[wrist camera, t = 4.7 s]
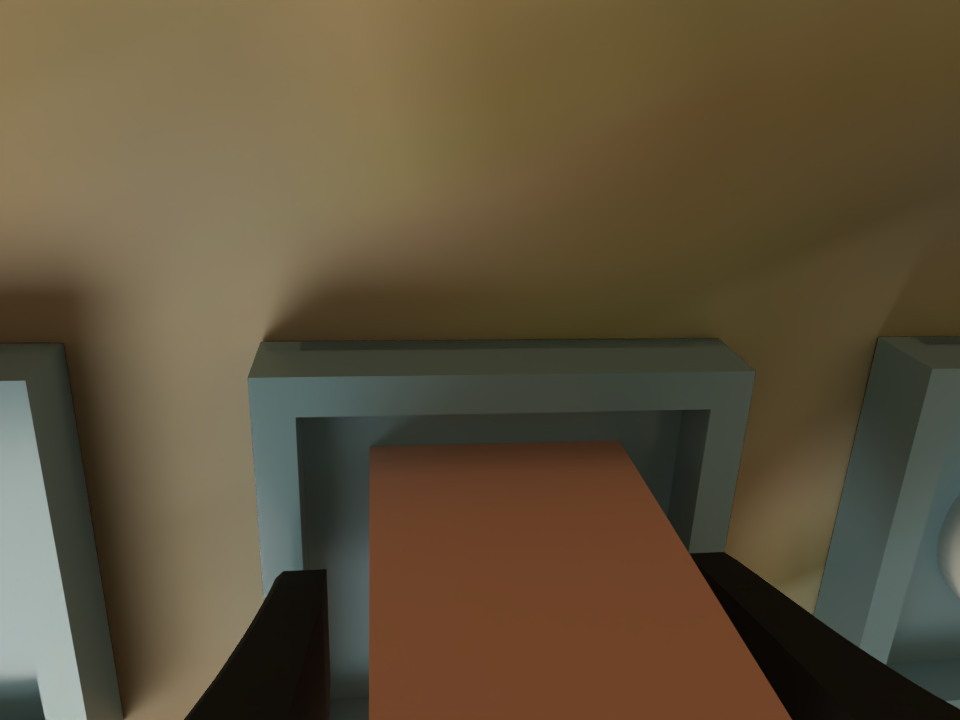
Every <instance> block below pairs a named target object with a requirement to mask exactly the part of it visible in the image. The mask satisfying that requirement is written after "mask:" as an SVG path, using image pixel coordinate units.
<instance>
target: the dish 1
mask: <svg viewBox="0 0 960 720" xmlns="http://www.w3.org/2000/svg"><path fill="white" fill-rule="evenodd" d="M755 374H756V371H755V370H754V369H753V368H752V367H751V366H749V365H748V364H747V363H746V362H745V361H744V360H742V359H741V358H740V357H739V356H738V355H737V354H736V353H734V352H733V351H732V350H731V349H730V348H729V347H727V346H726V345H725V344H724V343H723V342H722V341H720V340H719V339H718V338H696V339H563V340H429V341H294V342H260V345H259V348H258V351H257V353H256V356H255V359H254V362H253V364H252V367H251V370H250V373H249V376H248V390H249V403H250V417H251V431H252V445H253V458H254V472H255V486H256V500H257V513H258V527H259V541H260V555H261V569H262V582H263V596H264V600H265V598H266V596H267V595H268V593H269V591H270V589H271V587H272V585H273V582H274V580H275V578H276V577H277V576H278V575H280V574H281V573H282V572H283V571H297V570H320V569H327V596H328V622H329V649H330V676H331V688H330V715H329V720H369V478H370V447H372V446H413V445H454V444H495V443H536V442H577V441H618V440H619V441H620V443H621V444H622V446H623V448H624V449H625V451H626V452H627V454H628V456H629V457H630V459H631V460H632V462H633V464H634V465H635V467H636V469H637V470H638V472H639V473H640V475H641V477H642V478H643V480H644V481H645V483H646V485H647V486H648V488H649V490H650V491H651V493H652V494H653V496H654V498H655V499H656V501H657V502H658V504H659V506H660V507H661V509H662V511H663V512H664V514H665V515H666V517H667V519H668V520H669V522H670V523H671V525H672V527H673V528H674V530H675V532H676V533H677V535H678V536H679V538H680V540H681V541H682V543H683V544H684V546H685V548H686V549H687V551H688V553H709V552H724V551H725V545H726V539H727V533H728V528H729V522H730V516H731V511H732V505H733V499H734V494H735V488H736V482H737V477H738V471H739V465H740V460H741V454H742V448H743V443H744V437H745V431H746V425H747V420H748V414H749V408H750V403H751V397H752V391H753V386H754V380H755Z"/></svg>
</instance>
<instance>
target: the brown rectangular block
mask: <svg viewBox="0 0 960 720" xmlns="http://www.w3.org/2000/svg"><path fill="white" fill-rule="evenodd" d="M369 720H792V719H791V717H790V716H789V714H788V712H787V711H786V709H785V708H784V706H783V704H782V703H781V701H780V699H779V698H778V696H777V695H776V693H775V691H774V690H773V688H772V687H771V685H770V683H769V682H768V680H767V678H766V677H765V675H764V674H763V672H762V670H761V669H760V667H759V666H758V664H757V662H756V661H755V659H754V657H753V656H752V654H751V653H750V651H749V649H748V648H747V646H746V645H745V643H744V641H743V640H742V638H741V636H740V635H739V633H738V632H737V630H736V628H735V627H734V625H733V624H732V622H731V620H730V619H729V617H728V615H727V614H726V612H725V611H724V609H723V607H722V606H721V604H720V603H719V601H718V599H717V598H716V596H715V594H714V593H713V591H712V590H711V588H710V586H709V585H708V583H707V582H706V580H705V578H704V577H703V575H702V574H701V572H700V570H699V569H698V567H697V565H696V564H695V562H694V561H693V559H692V557H691V556H690V554H689V553H688V551H687V549H686V548H685V546H684V544H683V543H682V541H681V540H680V538H679V536H678V535H677V533H676V532H675V530H674V528H673V527H672V525H671V523H670V522H669V520H668V519H667V517H666V515H665V514H664V512H663V511H662V509H661V507H660V506H659V504H658V502H657V501H656V499H655V498H654V496H653V494H652V493H651V491H650V490H649V488H648V486H647V485H646V483H645V481H644V480H643V478H642V477H641V475H640V473H639V472H638V470H637V469H636V467H635V465H634V464H633V462H632V460H631V459H630V457H629V456H628V454H627V452H626V451H625V449H624V448H623V446H622V444H621V443H620V441H619V440H618V441H577V442H536V443H495V444H454V445H413V446H372V447H370V478H369Z"/></svg>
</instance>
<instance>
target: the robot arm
mask: <svg viewBox="0 0 960 720" xmlns="http://www.w3.org/2000/svg"><path fill="white" fill-rule="evenodd" d="M689 554H690V556H691V557H692V559H693V561H694V562H695V564H696V565H697V567H698V569H699V570H700V572H701V574H702V575H703V577H704V578H705V580H706V582H707V583H708V585H709V586H710V588H711V590H712V591H713V593H714V594H715V596H716V598H717V599H718V601H719V603H720V604H721V606H722V607H723V609H724V611H725V612H726V614H727V615H728V617H729V619H730V620H731V622H732V624H733V625H734V627H735V628H736V630H737V632H738V633H739V635H740V636H741V638H742V640H743V641H744V643H745V645H746V646H747V648H748V649H749V651H750V653H751V654H752V656H753V657H754V659H755V661H756V662H757V664H758V666H759V667H760V669H761V670H762V672H763V674H764V675H765V677H766V678H767V680H768V682H769V683H770V685H771V687H772V688H773V690H774V691H775V693H776V695H777V696H778V698H779V699H780V701H781V703H782V704H783V706H784V708H785V709H786V711H787V712H788V714H789V716H790V717H791V719H792V720H960V709H959V708H957V707H955V706H953V705H952V704H950V703H948V702H946V701H944V700H943V699H941V698H939V697H937V696H935V695H934V694H932V693H930V692H929V691H927V690H925V689H924V688H922V687H920V686H919V685H917V684H915V683H914V682H912V681H910V680H909V679H907V678H905V677H904V676H902V675H901V674H899V673H898V672H896V671H895V670H893V669H891V668H890V667H888V666H887V665H885V664H884V663H882V662H880V661H879V660H877V659H876V658H874V657H873V656H871V655H869V654H868V653H866V652H865V651H863V650H862V649H861V648H859V647H858V646H856V645H855V644H853V643H852V642H850V641H849V640H847V639H846V638H844V637H843V636H841V635H840V634H839V633H837V632H836V631H834V630H833V629H831V628H830V627H828V626H827V625H826V624H824V623H823V622H821V621H820V620H819V619H817V618H816V617H814V616H813V615H812V614H810V613H809V612H807V611H806V610H805V609H803V608H802V607H800V606H799V605H798V604H796V603H795V602H794V601H792V600H791V599H789V598H788V597H787V596H785V595H784V594H783V593H781V592H780V591H779V590H777V589H776V588H774V587H773V586H772V585H770V584H769V583H768V582H766V581H765V580H763V579H762V578H761V577H759V576H758V575H757V574H755V573H754V572H752V571H751V570H750V569H748V568H747V567H745V566H744V565H743V564H741V563H740V562H738V561H737V560H735V559H734V558H732V557H731V556H729V555H728V554H726V553H724V552H709V553H689ZM330 688H331V676H330V649H329V622H328V596H327V569H320V570H297V571H283V572H282V573H281V574H280V575H278V576H277V577H276V578H275V580H274V582H273V585H272V587H271V589H270V591H269V593H268V595H267V596H266V598H265V600H264V602H263V604H262V606H261V607H260V609H259V611H258V613H257V614H256V616H255V618H254V620H253V621H252V623H251V624H250V626H249V628H248V629H247V631H246V633H245V634H244V636H243V638H242V639H241V641H240V642H239V644H238V645H237V647H236V648H235V650H234V651H233V653H232V654H231V656H230V657H229V659H228V660H227V662H226V663H225V665H224V666H223V668H222V669H221V671H220V672H219V674H218V675H217V676H216V678H215V679H214V681H213V682H212V683H211V685H210V686H209V687H208V689H207V690H206V691H205V693H204V694H203V695H202V697H201V698H200V699H199V701H198V702H197V703H196V705H195V706H194V707H193V709H192V710H191V711H190V712H189V714H188V715H187V716H186V718H185V719H184V720H329V715H330Z"/></svg>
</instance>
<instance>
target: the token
mask: <svg viewBox="0 0 960 720" xmlns="http://www.w3.org/2000/svg"><path fill="white" fill-rule="evenodd" d="M937 561H938V566H939V570H940V573H941V575H942V578H943V580H944V581H945V583H946V584H947V586H948V587H949V588H950V589H951V590H952V591H953V592H954V593H955V594H956V595H957V596H958V597H959V598H960V495H959V496H958V497H957V499H956V500H955V501H954V503H953V504H952V506H951V508H950V510H949V511H948V513H947V515H946V517H945V520H944V522H943V525H942V527H941V530H940V534H939V538H938V546H937Z"/></svg>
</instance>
